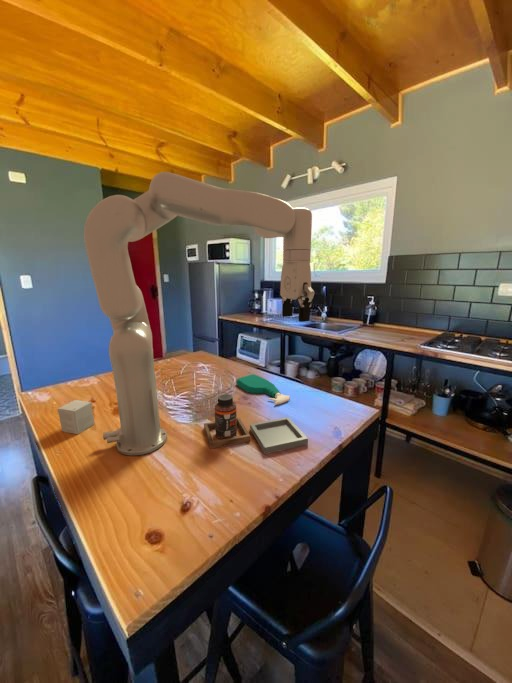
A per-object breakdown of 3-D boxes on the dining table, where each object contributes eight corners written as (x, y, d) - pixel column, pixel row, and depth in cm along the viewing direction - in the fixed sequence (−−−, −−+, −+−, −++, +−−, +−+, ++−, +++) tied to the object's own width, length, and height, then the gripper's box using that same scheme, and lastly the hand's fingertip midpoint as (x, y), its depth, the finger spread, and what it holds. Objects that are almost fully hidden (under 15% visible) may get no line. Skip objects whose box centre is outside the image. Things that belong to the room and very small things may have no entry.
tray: (264, 454, 72) (265, 447, 72) (250, 429, 83) (250, 424, 83) (307, 444, 76) (308, 438, 75) (288, 422, 87) (288, 417, 86)
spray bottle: (255, 379, 122) (296, 400, 103) (233, 385, 116) (272, 409, 97) (255, 373, 121) (296, 393, 102) (233, 378, 115) (272, 401, 96)
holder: (210, 448, 74) (210, 443, 74) (204, 428, 84) (204, 423, 84) (250, 440, 78) (250, 435, 77) (239, 421, 87) (239, 417, 87)
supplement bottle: (233, 441, 78) (232, 402, 75) (212, 439, 79) (210, 400, 76) (239, 429, 83) (238, 393, 80) (219, 427, 84) (218, 391, 82)
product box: (95, 424, 87) (91, 401, 85) (77, 435, 81) (73, 411, 79) (79, 421, 89) (75, 399, 87) (61, 431, 83) (56, 408, 81)
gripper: (271, 258, 86) (270, 315, 91) (300, 255, 71) (299, 324, 75) (293, 258, 89) (292, 313, 93) (326, 256, 74) (323, 322, 78)
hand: (295, 318), depth 84 cm, fingers open, 9 cm apart
